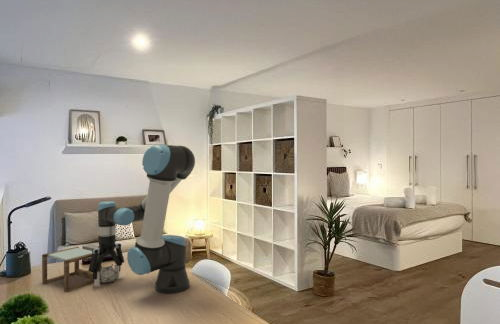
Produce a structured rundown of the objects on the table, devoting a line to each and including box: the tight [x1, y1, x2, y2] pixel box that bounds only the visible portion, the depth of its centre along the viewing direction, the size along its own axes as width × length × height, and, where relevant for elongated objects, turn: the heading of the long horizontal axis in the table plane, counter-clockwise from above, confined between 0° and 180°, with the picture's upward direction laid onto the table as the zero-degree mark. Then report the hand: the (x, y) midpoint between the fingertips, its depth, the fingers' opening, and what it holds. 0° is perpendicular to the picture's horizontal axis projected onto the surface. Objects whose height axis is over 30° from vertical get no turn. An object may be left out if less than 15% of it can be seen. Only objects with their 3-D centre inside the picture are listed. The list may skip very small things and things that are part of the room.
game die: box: [99, 264, 117, 285], centre depth 156 cm, size 9×8×10 cm
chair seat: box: [47, 243, 110, 262], centre depth 161 cm, size 16×22×4 cm
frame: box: [41, 246, 102, 293], centre depth 157 cm, size 20×17×14 cm
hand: (107, 282), depth 156 cm, fingers open, 10 cm apart
